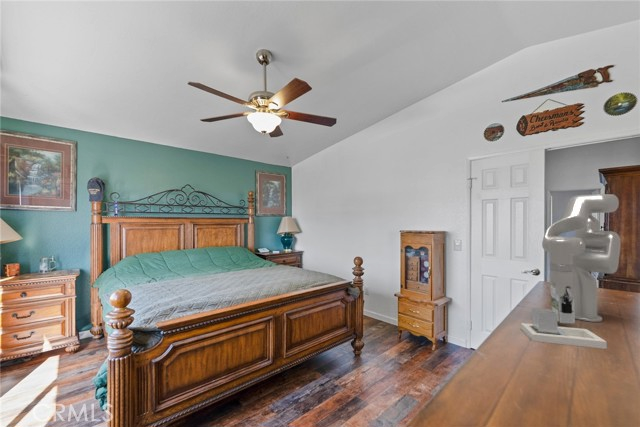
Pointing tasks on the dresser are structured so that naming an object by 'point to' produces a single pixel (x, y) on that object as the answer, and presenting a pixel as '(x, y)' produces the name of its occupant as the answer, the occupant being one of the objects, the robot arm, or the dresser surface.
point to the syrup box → (557, 308)
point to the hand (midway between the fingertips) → (562, 309)
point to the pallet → (566, 337)
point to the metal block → (544, 321)
